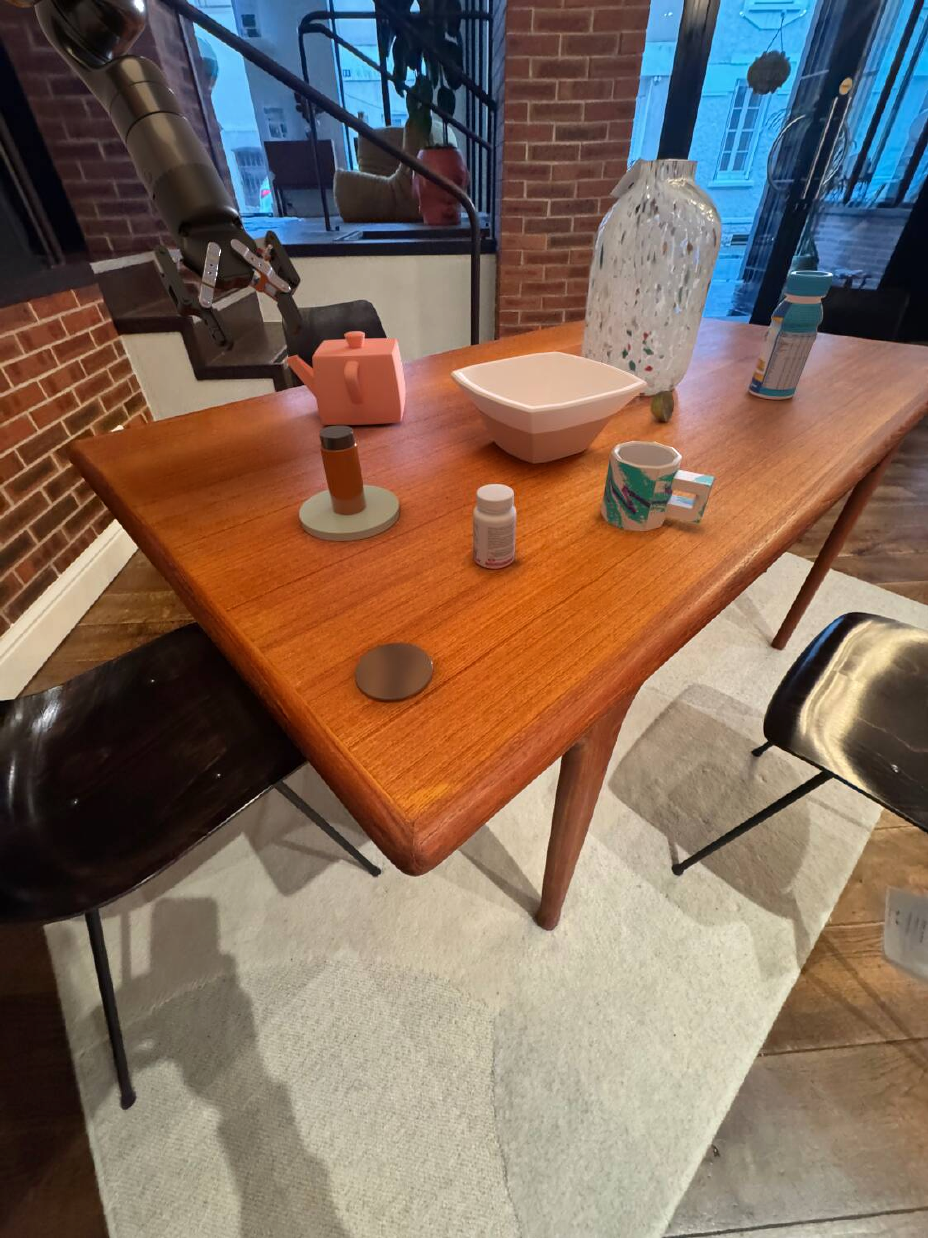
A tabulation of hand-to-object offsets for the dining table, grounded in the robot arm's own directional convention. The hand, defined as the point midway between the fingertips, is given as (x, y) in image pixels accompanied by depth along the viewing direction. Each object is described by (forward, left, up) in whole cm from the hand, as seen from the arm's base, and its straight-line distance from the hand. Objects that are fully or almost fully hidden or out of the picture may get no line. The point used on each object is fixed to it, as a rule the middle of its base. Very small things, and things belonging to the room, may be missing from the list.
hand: (265, 339), depth 59 cm
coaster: (+2, -37, -20) cm, 42 cm away
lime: (+64, +4, -21) cm, 67 cm away
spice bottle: (+5, -7, -19) cm, 21 cm away
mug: (+40, -24, -21) cm, 51 cm away
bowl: (+39, +3, -21) cm, 44 cm away
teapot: (+14, +30, -21) cm, 39 cm away
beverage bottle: (+92, +6, -21) cm, 95 cm away
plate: (+5, -7, -20) cm, 22 cm away
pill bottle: (+18, -24, -21) cm, 36 cm away
